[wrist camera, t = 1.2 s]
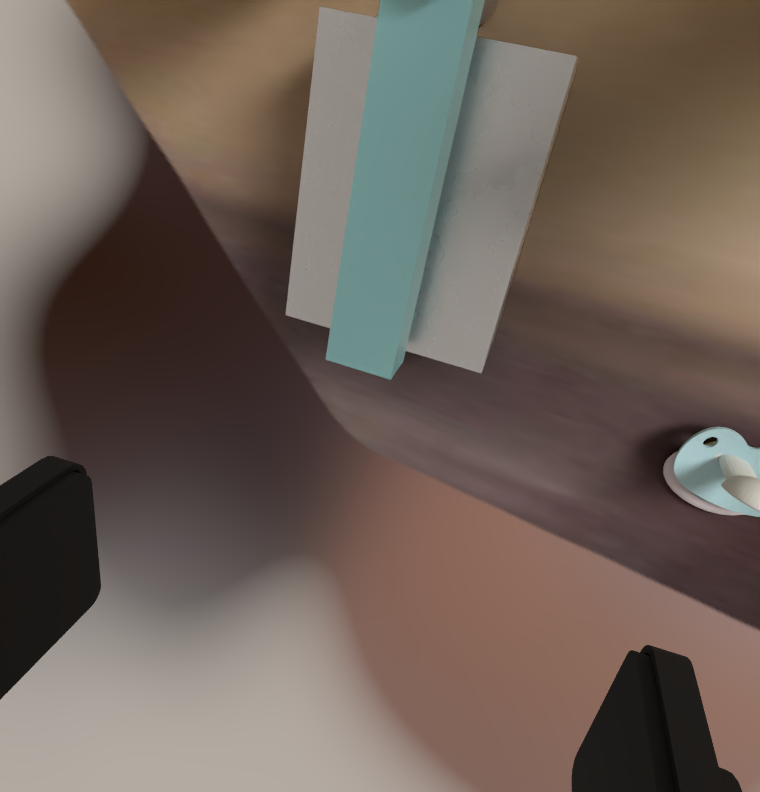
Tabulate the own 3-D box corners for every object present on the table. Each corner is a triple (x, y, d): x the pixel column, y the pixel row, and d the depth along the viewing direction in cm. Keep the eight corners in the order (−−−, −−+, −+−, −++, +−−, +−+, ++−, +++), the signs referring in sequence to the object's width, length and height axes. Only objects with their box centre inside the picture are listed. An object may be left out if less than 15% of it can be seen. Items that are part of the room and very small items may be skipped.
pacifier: (744, 524, 38) (810, 458, 35) (769, 594, 33) (850, 524, 30) (640, 474, 39) (696, 405, 36) (648, 534, 33) (714, 459, 30)
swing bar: (446, -35, 30) (387, -103, 20) (515, -23, 29) (486, -88, 20) (380, 306, 38) (317, 366, 29) (431, 321, 38) (385, 387, 29)
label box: (358, 23, 32) (313, 4, 27) (577, 66, 30) (577, 55, 24) (321, 288, 40) (280, 316, 34) (494, 337, 37) (480, 376, 32)
